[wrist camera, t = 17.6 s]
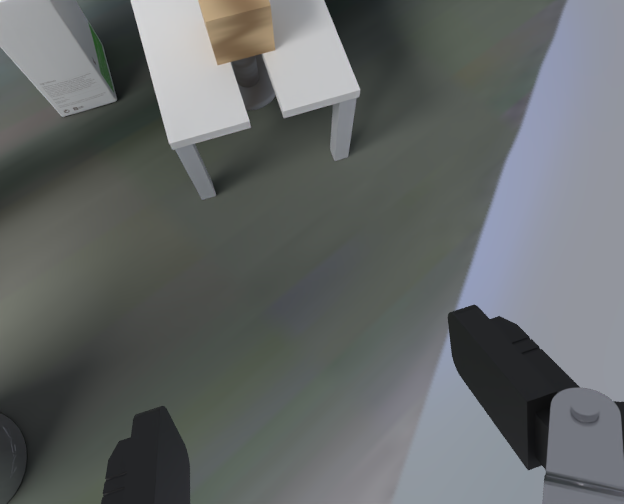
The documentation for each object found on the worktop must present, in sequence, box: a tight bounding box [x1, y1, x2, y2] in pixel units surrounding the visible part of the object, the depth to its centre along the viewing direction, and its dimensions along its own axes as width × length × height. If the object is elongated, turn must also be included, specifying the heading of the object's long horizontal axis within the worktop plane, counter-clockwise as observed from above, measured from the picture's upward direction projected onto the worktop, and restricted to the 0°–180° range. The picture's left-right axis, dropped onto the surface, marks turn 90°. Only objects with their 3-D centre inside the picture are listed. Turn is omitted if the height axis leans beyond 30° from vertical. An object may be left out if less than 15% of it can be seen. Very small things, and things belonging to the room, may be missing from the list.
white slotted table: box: [131, 0, 360, 200], centre depth 49 cm, size 16×20×12 cm
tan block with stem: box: [198, 0, 276, 111], centre depth 44 cm, size 6×6×12 cm
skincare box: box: [0, 0, 117, 117], centre depth 48 cm, size 8×7×16 cm
